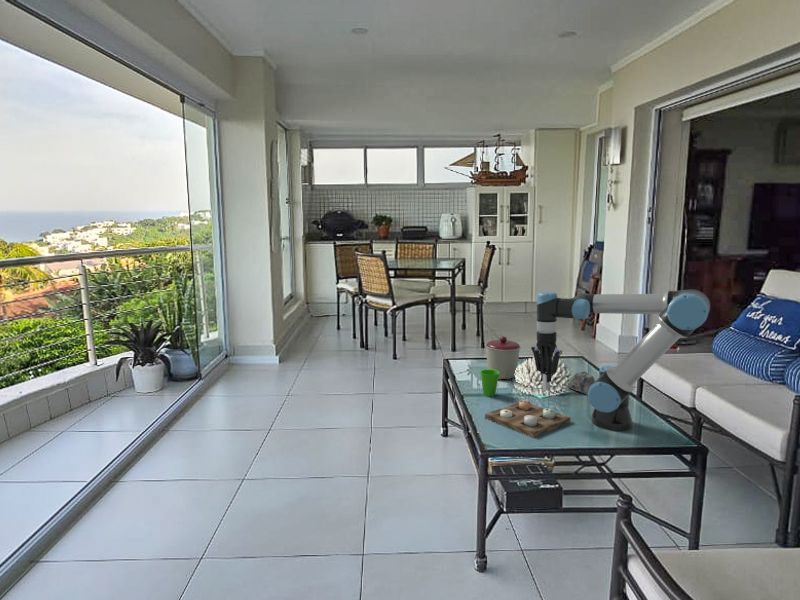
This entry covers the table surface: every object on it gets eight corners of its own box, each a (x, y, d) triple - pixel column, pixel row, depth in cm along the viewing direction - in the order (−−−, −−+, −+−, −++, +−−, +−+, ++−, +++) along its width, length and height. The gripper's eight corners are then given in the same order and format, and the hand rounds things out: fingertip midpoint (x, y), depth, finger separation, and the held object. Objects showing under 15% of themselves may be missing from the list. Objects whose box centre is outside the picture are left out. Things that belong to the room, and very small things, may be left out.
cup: (500, 398, 245) (501, 375, 243) (480, 398, 245) (481, 374, 244) (497, 391, 254) (498, 369, 252) (478, 391, 254) (478, 368, 253)
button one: (514, 419, 221) (514, 411, 220) (506, 421, 218) (507, 414, 217) (505, 415, 224) (505, 408, 224) (497, 418, 221) (497, 410, 221)
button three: (532, 409, 228) (533, 402, 227) (525, 411, 225) (526, 404, 224) (523, 406, 231) (524, 398, 231) (516, 408, 228) (516, 401, 228)
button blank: (539, 425, 211) (539, 417, 211) (531, 428, 208) (531, 420, 208) (529, 421, 215) (529, 414, 214) (521, 424, 212) (521, 417, 211)
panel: (570, 422, 218) (570, 417, 218) (533, 437, 203) (533, 432, 203) (522, 405, 237) (522, 401, 236) (484, 418, 222) (485, 413, 221)
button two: (557, 417, 219) (557, 410, 218) (550, 420, 216) (550, 413, 215) (547, 414, 222) (547, 406, 222) (540, 417, 219) (540, 409, 219)
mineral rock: (563, 387, 262) (564, 367, 260) (584, 385, 264) (585, 365, 262) (577, 396, 249) (579, 375, 247) (599, 394, 251) (600, 373, 250)
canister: (479, 372, 284) (480, 333, 280) (511, 370, 287) (513, 331, 284) (490, 383, 266) (492, 341, 263) (525, 381, 270) (527, 340, 266)
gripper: (566, 332, 211) (565, 390, 214) (538, 327, 220) (537, 384, 224) (555, 335, 206) (554, 395, 209) (527, 330, 216) (526, 388, 219)
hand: (546, 389), depth 217 cm, fingers closed
